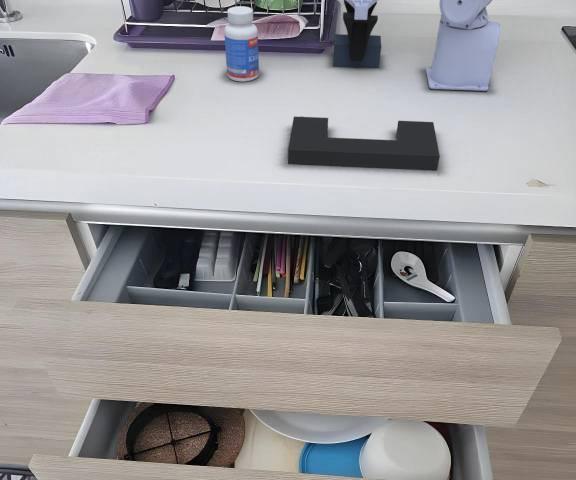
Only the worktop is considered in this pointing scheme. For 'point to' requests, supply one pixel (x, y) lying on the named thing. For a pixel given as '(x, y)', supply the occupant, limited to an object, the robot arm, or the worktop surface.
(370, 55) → the dark blue block
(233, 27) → the pill bottle
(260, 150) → the worktop surface
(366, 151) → the black u-shaped block
